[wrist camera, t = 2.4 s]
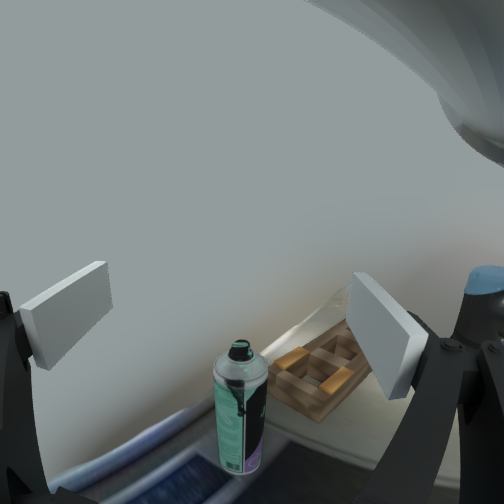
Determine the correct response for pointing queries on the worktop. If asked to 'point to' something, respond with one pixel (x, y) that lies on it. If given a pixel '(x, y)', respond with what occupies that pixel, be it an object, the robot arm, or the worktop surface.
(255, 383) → the spray can
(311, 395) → the rack
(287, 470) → the worktop surface
